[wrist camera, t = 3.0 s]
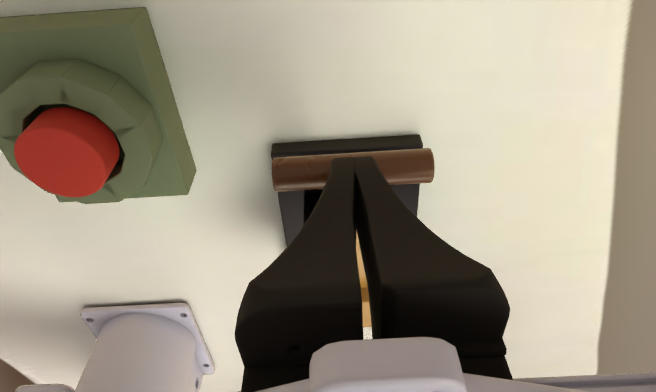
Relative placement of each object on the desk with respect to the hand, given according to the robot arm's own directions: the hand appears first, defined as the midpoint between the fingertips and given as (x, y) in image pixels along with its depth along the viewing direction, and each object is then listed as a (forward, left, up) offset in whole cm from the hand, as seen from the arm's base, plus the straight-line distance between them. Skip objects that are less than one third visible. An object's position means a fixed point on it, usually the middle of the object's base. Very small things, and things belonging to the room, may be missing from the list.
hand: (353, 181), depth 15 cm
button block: (-1, +12, -9) cm, 15 cm away
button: (-1, +12, -5) cm, 13 cm away
